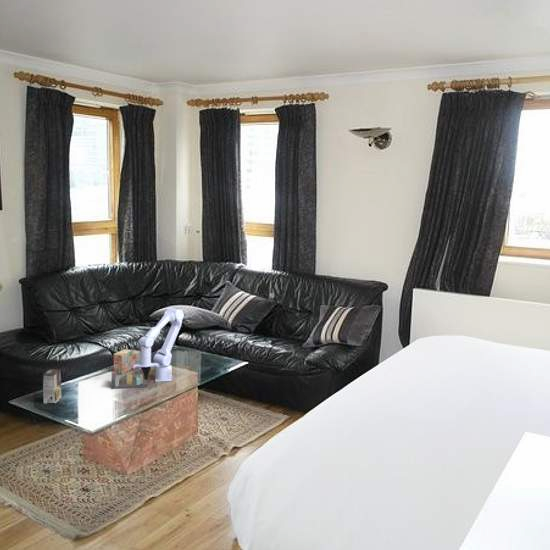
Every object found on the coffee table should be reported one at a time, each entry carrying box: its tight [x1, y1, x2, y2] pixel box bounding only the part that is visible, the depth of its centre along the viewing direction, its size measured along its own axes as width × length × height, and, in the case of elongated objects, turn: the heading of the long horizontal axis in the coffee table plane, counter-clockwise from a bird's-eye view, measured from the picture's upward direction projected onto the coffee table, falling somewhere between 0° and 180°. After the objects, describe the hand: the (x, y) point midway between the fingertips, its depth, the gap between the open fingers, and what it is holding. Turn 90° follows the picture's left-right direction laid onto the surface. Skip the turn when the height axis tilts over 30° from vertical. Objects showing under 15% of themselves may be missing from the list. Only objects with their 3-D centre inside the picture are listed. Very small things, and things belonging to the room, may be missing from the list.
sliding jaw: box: [135, 371, 144, 385], centre depth 347 cm, size 4×10×5 cm, turn 13°
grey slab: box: [111, 373, 148, 390], centre depth 346 cm, size 20×12×6 cm, turn 103°
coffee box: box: [42, 368, 62, 404], centre depth 316 cm, size 9×6×16 cm
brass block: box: [126, 373, 133, 385], centre depth 346 cm, size 3×7×4 cm, turn 13°
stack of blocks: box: [113, 348, 141, 375], centre depth 375 cm, size 21×6×12 cm, turn 161°
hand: (145, 379), depth 348 cm, fingers closed
